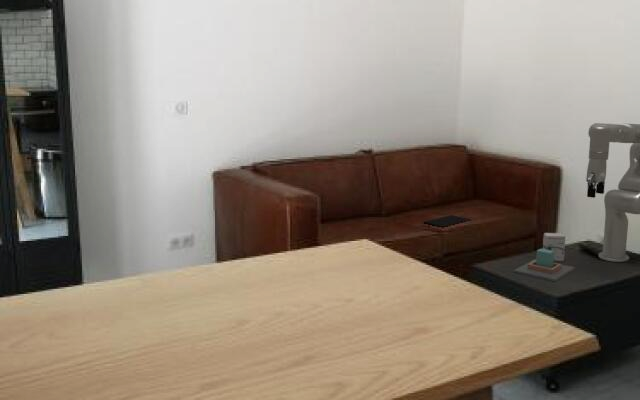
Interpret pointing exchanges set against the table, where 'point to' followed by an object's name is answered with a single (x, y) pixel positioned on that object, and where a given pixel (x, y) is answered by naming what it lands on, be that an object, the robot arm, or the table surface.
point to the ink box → (555, 244)
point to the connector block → (545, 258)
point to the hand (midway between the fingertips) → (595, 195)
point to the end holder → (544, 271)
